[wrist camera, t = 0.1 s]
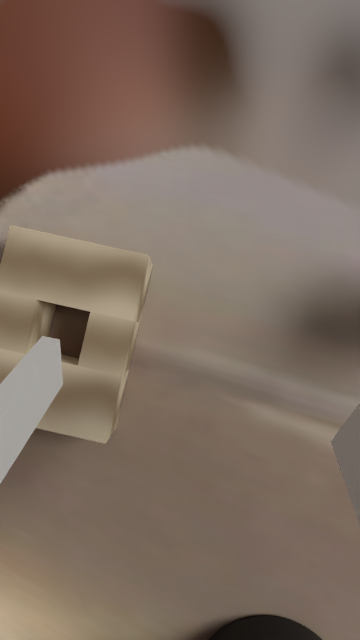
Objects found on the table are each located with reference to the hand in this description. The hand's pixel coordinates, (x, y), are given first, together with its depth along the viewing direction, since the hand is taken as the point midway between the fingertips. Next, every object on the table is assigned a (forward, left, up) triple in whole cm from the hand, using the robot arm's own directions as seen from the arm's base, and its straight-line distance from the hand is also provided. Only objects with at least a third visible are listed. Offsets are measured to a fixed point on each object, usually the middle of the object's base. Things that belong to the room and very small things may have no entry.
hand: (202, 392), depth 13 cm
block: (0, +11, -15) cm, 19 cm away
